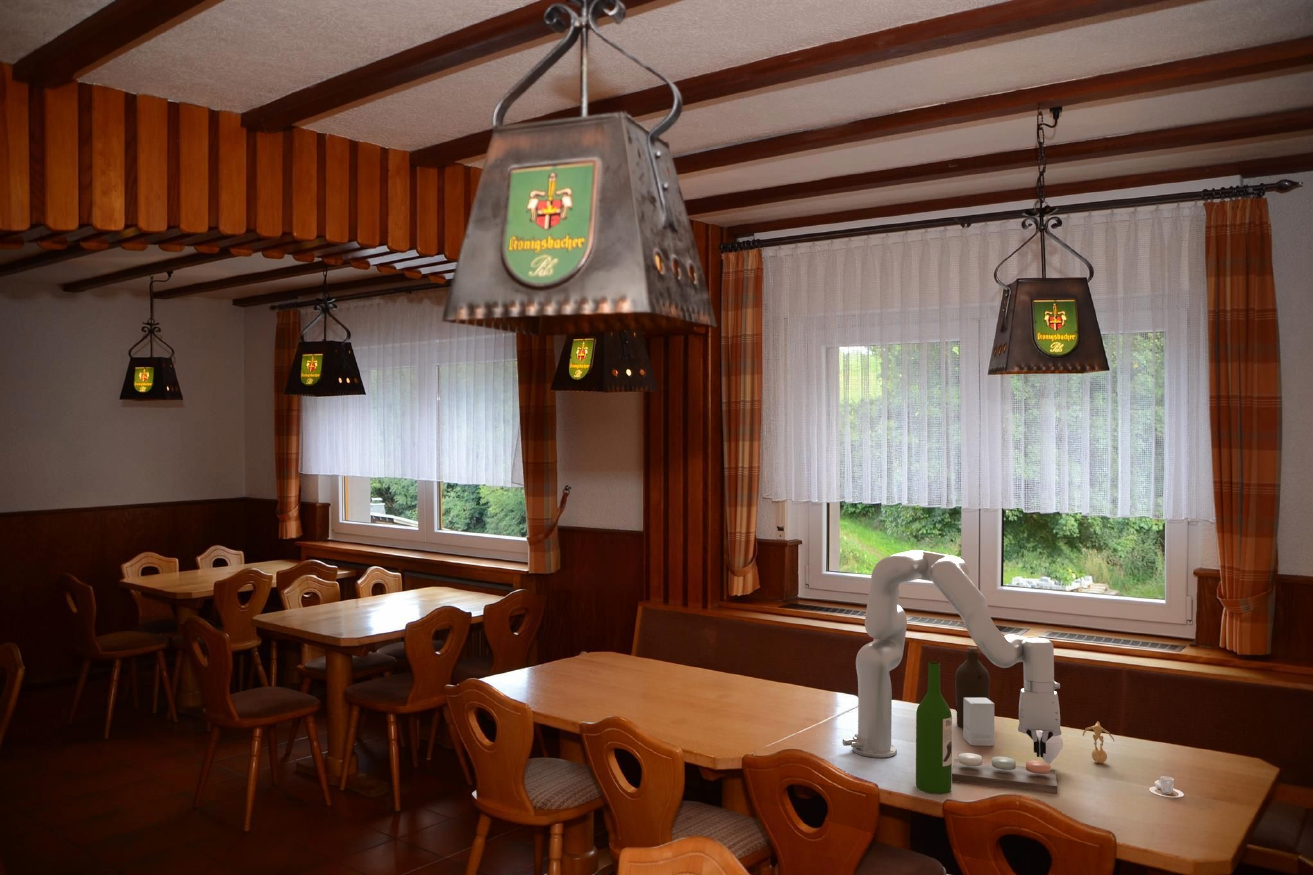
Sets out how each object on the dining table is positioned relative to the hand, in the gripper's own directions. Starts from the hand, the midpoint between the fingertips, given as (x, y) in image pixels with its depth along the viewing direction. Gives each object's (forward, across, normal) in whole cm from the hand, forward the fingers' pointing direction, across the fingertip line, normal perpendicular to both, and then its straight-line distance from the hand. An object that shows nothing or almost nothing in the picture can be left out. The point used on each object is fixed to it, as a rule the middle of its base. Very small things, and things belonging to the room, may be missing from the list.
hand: (1039, 755), depth 255 cm
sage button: (+4, +9, 0) cm, 10 cm away
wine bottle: (+7, +26, +14) cm, 30 cm away
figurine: (+8, -16, -23) cm, 29 cm away
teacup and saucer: (+9, -33, -7) cm, 35 cm away
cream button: (+4, +18, 0) cm, 18 cm away
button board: (+7, +9, 0) cm, 12 cm away
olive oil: (+7, +19, -49) cm, 53 cm away
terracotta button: (+4, +1, 0) cm, 4 cm away
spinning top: (+8, -2, -15) cm, 17 cm away
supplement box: (+7, +16, -32) cm, 37 cm away
